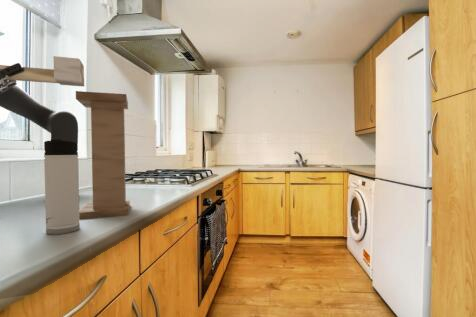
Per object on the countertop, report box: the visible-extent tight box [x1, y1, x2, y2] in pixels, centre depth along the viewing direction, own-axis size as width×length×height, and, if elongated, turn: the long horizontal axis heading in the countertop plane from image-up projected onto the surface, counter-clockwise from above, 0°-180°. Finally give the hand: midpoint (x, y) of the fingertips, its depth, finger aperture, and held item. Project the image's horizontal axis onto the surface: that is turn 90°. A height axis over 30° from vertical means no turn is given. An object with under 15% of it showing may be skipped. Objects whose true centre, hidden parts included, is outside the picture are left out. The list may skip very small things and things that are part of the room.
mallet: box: [0, 55, 85, 87], centre depth 75 cm, size 7×19×6 cm, turn 110°
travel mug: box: [43, 138, 81, 236], centre depth 60 cm, size 6×7×20 cm
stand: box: [75, 90, 131, 220], centre depth 79 cm, size 14×12×33 cm
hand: (24, 68), depth 73 cm, fingers closed on mallet, 3 cm apart
